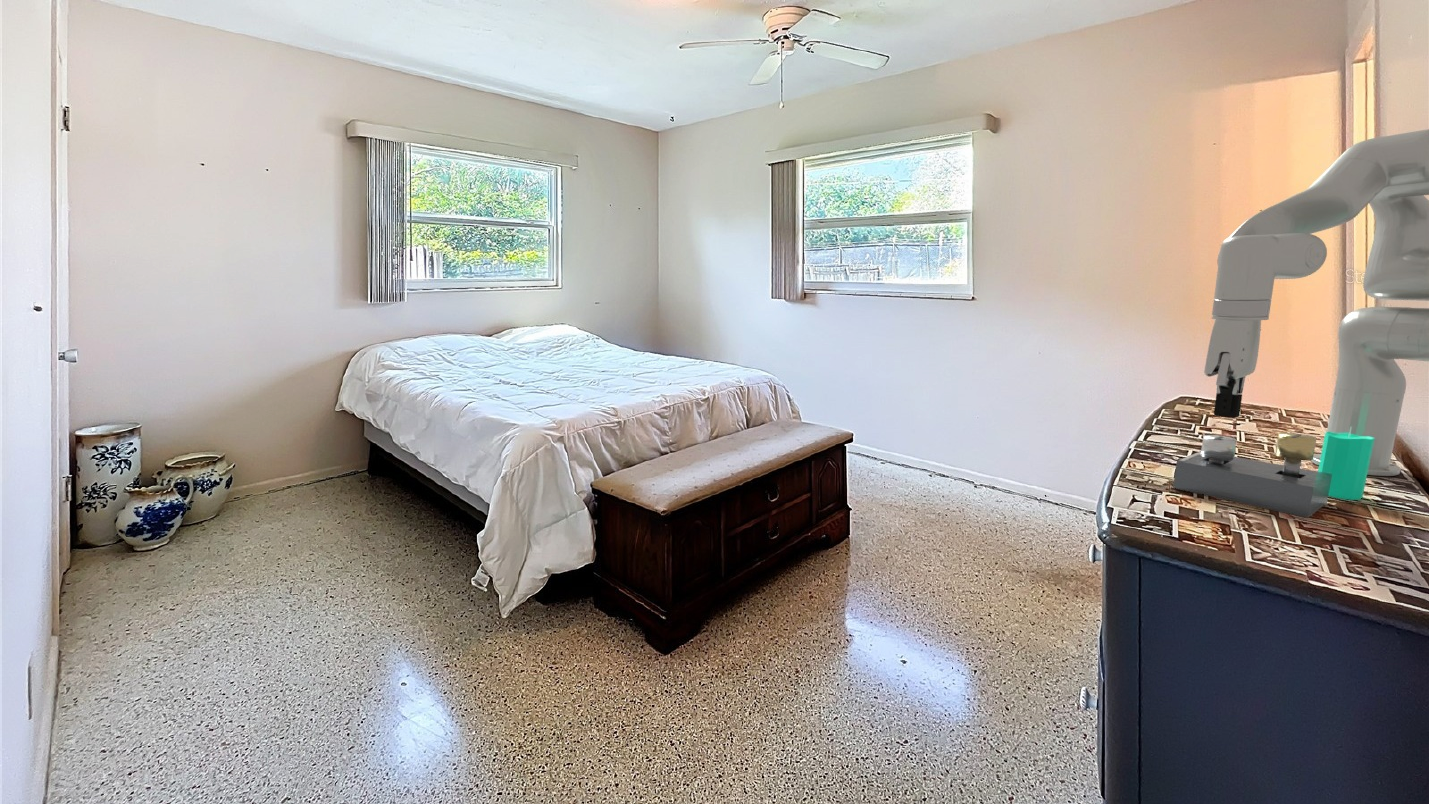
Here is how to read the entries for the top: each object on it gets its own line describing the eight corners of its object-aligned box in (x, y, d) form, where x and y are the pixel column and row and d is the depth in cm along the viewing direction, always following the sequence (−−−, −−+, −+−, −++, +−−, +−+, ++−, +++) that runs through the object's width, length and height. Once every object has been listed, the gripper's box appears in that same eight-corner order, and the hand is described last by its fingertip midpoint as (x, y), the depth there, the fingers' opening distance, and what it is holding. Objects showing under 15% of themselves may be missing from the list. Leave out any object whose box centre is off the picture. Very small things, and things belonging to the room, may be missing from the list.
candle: (1372, 501, 107) (1386, 431, 104) (1330, 498, 108) (1343, 429, 106) (1345, 489, 112) (1358, 423, 110) (1305, 487, 114) (1317, 422, 111)
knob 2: (1274, 476, 108) (1283, 430, 106) (1311, 483, 104) (1320, 436, 102) (1266, 481, 105) (1275, 434, 103) (1303, 488, 101) (1312, 439, 100)
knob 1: (1202, 475, 116) (1208, 433, 114) (1233, 482, 112) (1240, 438, 111) (1192, 480, 113) (1199, 436, 112) (1224, 486, 110) (1231, 441, 108)
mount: (1197, 476, 120) (1201, 450, 119) (1326, 503, 105) (1332, 473, 104) (1172, 488, 113) (1176, 460, 112) (1307, 518, 98) (1313, 486, 97)
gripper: (1228, 307, 115) (1215, 407, 118) (1197, 312, 106) (1184, 419, 110) (1282, 308, 109) (1266, 413, 112) (1254, 313, 100) (1239, 426, 104)
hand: (1226, 416), depth 111 cm, fingers closed
